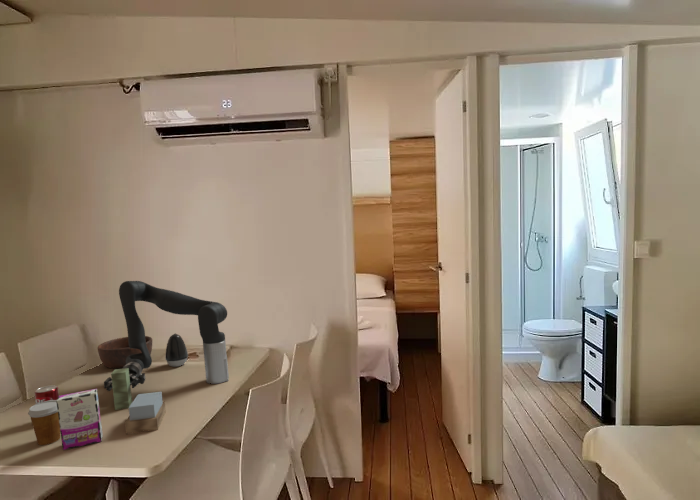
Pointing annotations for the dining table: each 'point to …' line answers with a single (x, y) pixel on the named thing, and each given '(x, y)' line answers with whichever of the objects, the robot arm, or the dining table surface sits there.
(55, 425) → the disposable coffee cup
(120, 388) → the olive block
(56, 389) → the soda can
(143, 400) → the blue gray tower block
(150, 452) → the dining table surface
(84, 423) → the candy bar box
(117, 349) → the wooden bowl
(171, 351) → the black egg shape
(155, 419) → the tower base
